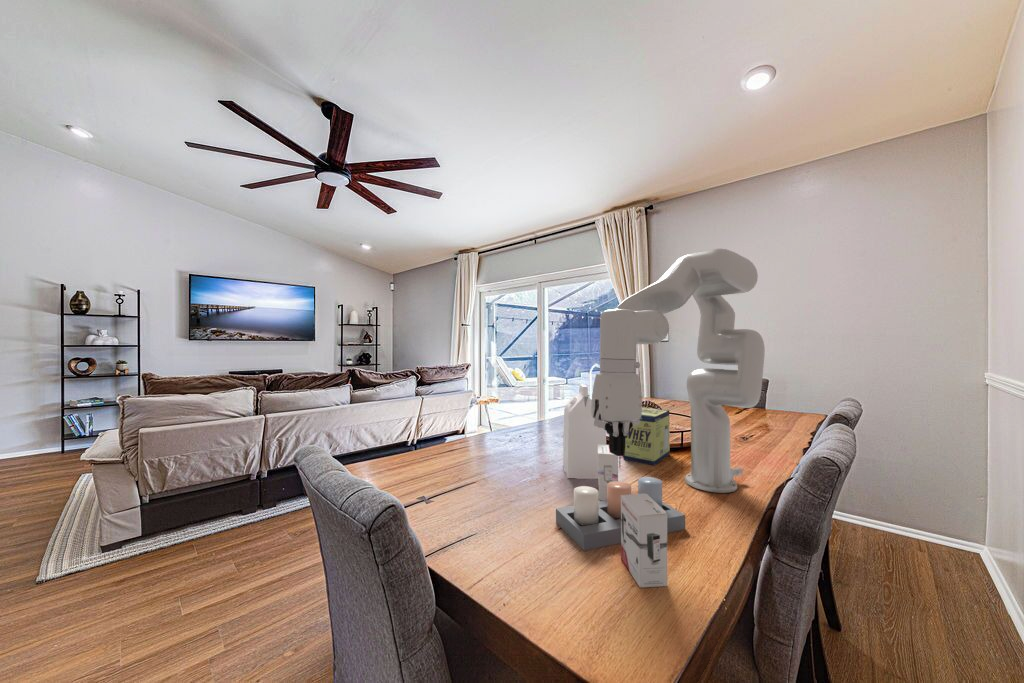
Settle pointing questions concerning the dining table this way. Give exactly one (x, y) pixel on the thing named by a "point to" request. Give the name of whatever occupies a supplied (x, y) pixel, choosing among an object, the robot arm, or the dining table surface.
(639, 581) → the ink box
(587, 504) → the button cream
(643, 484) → the button slate
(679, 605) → the dining table surface
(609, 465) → the ink cartridge box
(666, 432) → the protein box
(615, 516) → the peach cylinder
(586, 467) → the milk
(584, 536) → the gray compartment tray
